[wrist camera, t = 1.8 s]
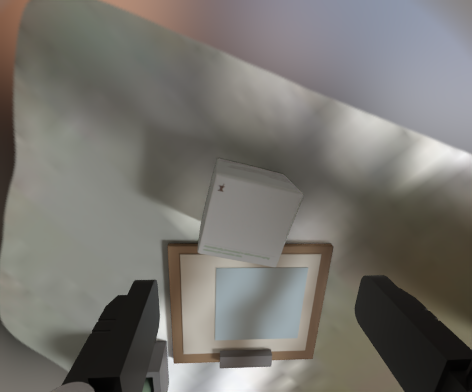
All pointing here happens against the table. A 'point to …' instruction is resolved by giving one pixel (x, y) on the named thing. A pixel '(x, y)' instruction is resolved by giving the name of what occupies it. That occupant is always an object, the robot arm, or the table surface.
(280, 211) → the small box
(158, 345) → the button housing
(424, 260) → the table surface
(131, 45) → the table surface
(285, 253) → the picture frame
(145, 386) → the button
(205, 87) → the table surface
